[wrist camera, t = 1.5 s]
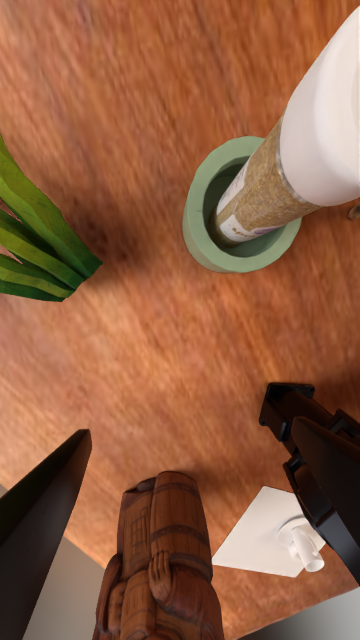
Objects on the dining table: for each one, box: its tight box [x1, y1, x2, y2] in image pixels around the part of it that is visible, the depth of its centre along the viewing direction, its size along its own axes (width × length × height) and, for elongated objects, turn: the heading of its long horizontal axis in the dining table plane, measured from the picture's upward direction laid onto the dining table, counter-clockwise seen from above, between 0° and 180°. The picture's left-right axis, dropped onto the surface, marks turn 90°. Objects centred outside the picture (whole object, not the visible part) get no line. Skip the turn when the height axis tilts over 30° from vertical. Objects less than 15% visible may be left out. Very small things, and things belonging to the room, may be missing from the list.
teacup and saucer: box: [276, 516, 324, 572], centre depth 30 cm, size 9×8×4 cm
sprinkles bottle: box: [208, 6, 360, 248], centre depth 11 cm, size 5×5×14 cm
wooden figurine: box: [92, 472, 225, 640], centre depth 18 cm, size 12×6×18 cm, turn 113°
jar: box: [182, 136, 303, 273], centre depth 16 cm, size 9×9×4 cm
